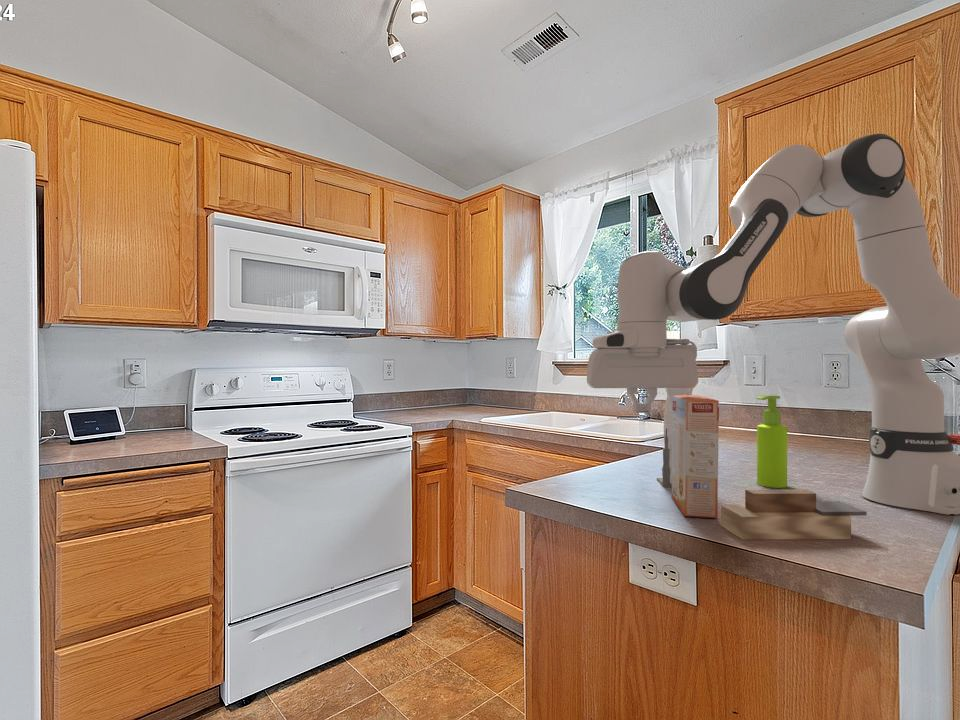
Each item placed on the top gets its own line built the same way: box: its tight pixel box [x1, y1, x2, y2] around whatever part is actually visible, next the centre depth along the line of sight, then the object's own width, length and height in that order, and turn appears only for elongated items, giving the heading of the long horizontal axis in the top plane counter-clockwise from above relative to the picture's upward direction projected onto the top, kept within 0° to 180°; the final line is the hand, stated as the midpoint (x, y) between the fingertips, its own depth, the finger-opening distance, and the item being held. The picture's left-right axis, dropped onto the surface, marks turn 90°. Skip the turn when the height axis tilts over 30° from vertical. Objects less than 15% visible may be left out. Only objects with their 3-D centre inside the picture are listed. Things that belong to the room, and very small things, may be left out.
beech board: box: [720, 503, 852, 540], centre depth 84 cm, size 17×7×4 cm, turn 91°
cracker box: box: [671, 394, 720, 519], centre depth 98 cm, size 14×6×21 cm, turn 168°
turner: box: [744, 489, 868, 517], centre depth 84 cm, size 17×6×3 cm, turn 91°
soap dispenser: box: [755, 394, 788, 489], centre depth 116 cm, size 6×7×20 cm
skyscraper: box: [656, 388, 694, 488], centre depth 118 cm, size 8×8×28 cm
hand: (641, 412), depth 98 cm, fingers closed
